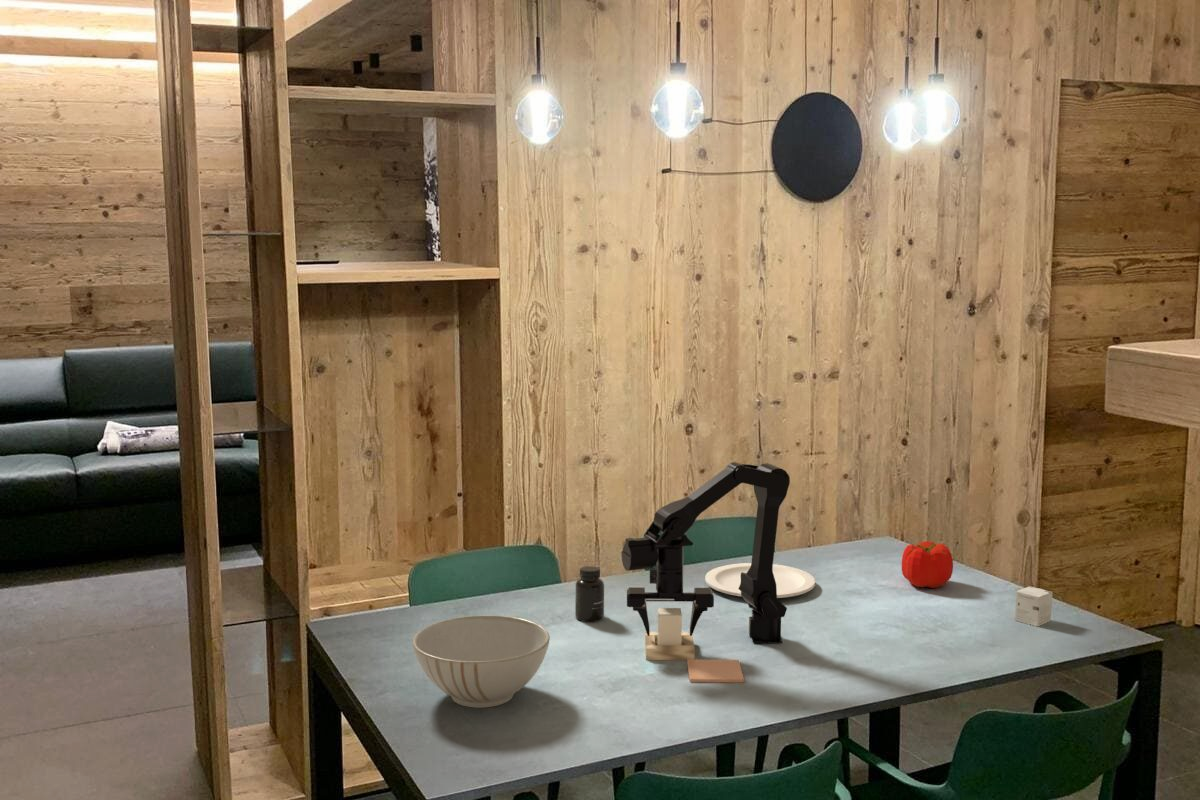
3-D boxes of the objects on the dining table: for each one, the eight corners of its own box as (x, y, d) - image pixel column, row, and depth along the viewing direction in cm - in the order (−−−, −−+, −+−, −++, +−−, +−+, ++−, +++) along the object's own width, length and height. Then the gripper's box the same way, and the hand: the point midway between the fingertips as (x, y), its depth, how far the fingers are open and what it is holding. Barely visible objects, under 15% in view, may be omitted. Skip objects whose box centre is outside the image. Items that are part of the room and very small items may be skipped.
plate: (823, 604, 293) (823, 595, 292) (709, 604, 293) (709, 595, 293) (805, 571, 321) (805, 562, 320) (701, 571, 321) (701, 562, 321)
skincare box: (1014, 620, 280) (1015, 590, 279) (1027, 615, 284) (1029, 585, 283) (1038, 627, 276) (1039, 596, 275) (1051, 621, 280) (1053, 591, 279)
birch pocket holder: (691, 642, 266) (691, 632, 266) (694, 660, 256) (694, 648, 255) (645, 642, 266) (645, 631, 266) (646, 659, 256) (646, 648, 255)
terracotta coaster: (738, 662, 254) (738, 659, 254) (743, 682, 243) (743, 679, 243) (686, 662, 254) (687, 659, 254) (689, 682, 243) (689, 679, 243)
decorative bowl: (435, 733, 219) (434, 670, 218) (399, 682, 244) (397, 625, 242) (570, 709, 230) (570, 649, 228) (523, 662, 254) (522, 608, 252)
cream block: (680, 647, 263) (680, 608, 262) (681, 655, 258) (681, 615, 257) (657, 647, 263) (657, 608, 262) (658, 655, 258) (658, 615, 257)
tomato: (918, 573, 317) (919, 535, 316) (962, 584, 308) (964, 545, 306) (888, 584, 308) (890, 544, 307) (933, 596, 299) (935, 555, 297)
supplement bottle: (601, 623, 279) (600, 573, 277) (572, 621, 280) (572, 572, 278) (606, 613, 286) (606, 565, 284) (578, 612, 287) (578, 563, 285)
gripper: (710, 555, 266) (709, 623, 268) (626, 555, 266) (626, 622, 268) (714, 570, 255) (713, 640, 257) (626, 570, 255) (626, 640, 257)
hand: (669, 635), depth 260 cm, fingers open, 9 cm apart
